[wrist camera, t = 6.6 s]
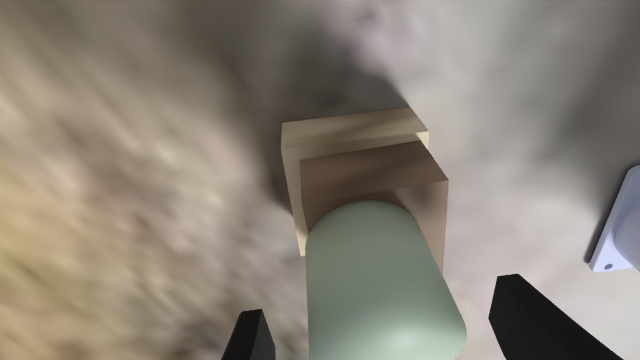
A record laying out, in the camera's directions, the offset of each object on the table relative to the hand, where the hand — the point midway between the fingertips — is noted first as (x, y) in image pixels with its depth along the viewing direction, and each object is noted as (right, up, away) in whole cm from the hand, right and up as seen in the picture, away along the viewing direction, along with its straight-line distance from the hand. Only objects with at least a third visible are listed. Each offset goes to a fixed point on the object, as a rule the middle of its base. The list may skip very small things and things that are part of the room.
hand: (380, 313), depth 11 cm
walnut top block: (0, +3, +5) cm, 6 cm away
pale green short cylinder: (0, +2, +2) cm, 3 cm away
